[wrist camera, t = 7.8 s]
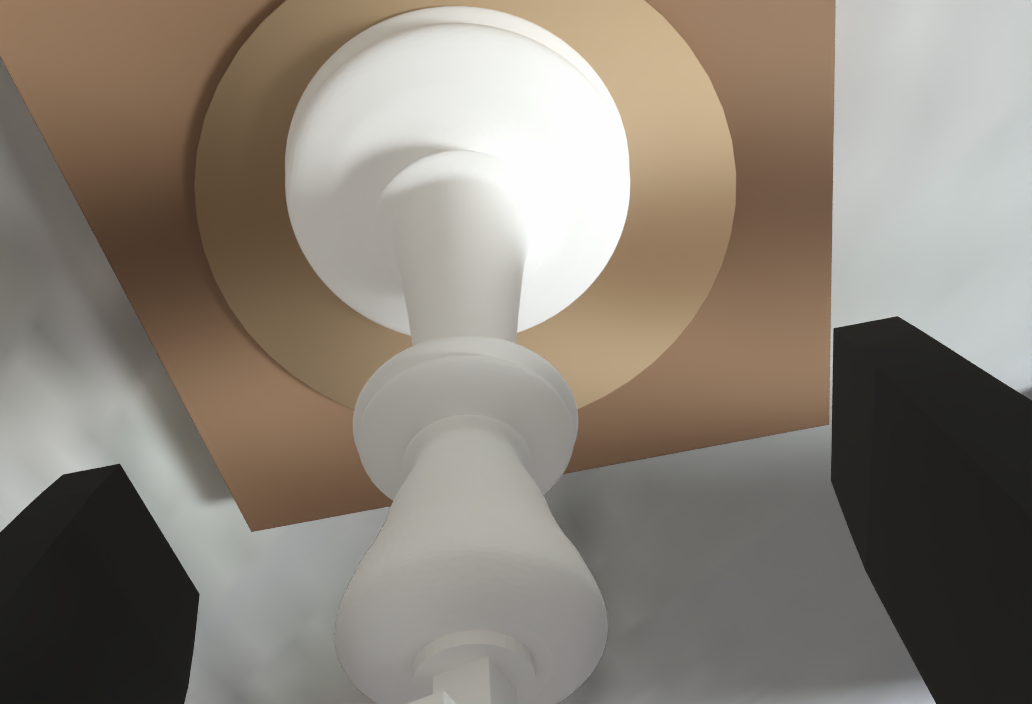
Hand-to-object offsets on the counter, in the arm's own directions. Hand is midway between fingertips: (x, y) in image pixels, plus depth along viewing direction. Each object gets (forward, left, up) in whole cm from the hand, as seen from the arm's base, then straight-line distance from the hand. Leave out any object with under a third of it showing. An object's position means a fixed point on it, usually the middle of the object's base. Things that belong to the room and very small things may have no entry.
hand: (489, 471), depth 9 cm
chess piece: (+1, 0, -6) cm, 6 cm away
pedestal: (0, 0, -7) cm, 7 cm away
